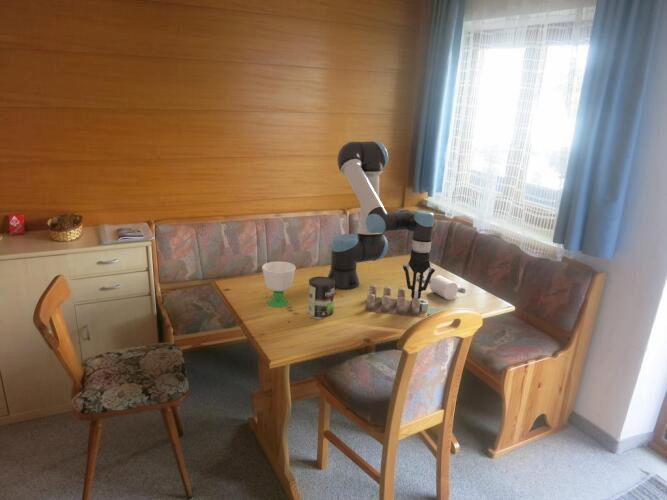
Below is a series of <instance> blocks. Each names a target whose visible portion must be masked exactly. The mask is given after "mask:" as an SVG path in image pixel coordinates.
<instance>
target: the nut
mask: <svg viewBox="0 0 667 500" xmlns="http://www.w3.org/2000/svg"><path fill="white" fill-rule="evenodd" d="M419 300H420V307H419V311H420V313H427V309H428V307H429V301H428V300H426V299H424V298H422V299H421V298H420V299H419Z"/></svg>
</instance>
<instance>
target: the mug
mask: <svg viewBox="0 0 667 500" xmlns="http://www.w3.org/2000/svg"><path fill="white" fill-rule="evenodd" d="M460 287H461V285H460V284H459V283H456V282H454V281H451V280H450V279H448V278H446V277H444V276H442V275H440V274H439V275H435V276H433V277H432V280H431V282H429V289H430V291H431V292H433V293H435V294H436V295H438V296H440V297H441V298H444V300H453V299H454V298H455V297H456V296H457V294H458V292H459V291H458V290H459V289H460Z"/></svg>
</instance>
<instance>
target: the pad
mask: <svg viewBox="0 0 667 500" xmlns="http://www.w3.org/2000/svg"><path fill="white" fill-rule="evenodd" d="M439 311H441V308H440V307H432V306H431V307H430V306H428V309H427V312H426V313H427V317H429V316H428V315H431V314H434V313H436V312H439ZM441 312H442V311H441Z"/></svg>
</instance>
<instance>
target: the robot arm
mask: <svg viewBox="0 0 667 500" xmlns="http://www.w3.org/2000/svg"><path fill="white" fill-rule="evenodd" d="M336 157H337V158H336V159H337V160H336V162H337V167H338V169H339V171H340V173H341V175H342V176H345V177H346V179H347V181H348V182H349V184H350V187H351V188H352V190H353V193H354V194H355V196H356V198H357V200H358V201H359V203H360V229H359V230H358V231H357V235H356V234H354V233H341V234H338V235H336V236H334V238H333V239H332V240H331V241H332V242H331V246H330V247H331V256H330V257H331V258H330V259H331V260H330V270H329V273H327V277H329V278H332V279H334V280H335V291H336V290H341V291H342V290H353V289H356V288H358V287H359V286H360V280H359V275H358V273H357V263H365V262H375V261H377V260H378V261H379V260H382V259H384V257H385V256H386V254H387V253H388V249H389V241H388V240H387V237H386V236H385V235H384V234H383V233H388V232H389V233H391V232H401V231H402V232H403V231H407V232H409V233H412V238H411V250H410V256H409V258H410V259H409V261H408V263H405V264H403V265H402V269H403V271H404V272H405V273H404V274H405V278H406V280H405V281H406V285H407V289H408V290H411V293H410V297H411V299H412V298H414V299H418V298H419V300H421V297H422V291H424V292H425V291H426V290H427V288H428V285H429V284H430V282H429V281H430V278H432V276H433V274H435V271H436V268H435V267H433V266H431V263H430V258H431V250H432V249H431V248H432V237H433V232H434V225H435V223H434V222H435V214H434V213H433V212H432V211H427V210H416V211H415V212H412V211H410V210H408V209H398V210H397V211H395V212H394V211H393V212H387V210H386V209H385V207H384V205H383V203H382V201H381V200H380V175H382V173H383V169H384V168H385V167H387V164H388V162H389V155H388V150H387V148H386V146H385V145H384V144H383V143H382V142H380V141H348V142H347V143H345V144H344V145H342V146H341V148H340V149H339V151H338V154H337V156H336ZM410 269H411V271H412V273H413V274H412V275H413V276H412V283H411V279H410V272H409V270H410ZM427 270H428V273H427V275H426V276H427V278H426V280H425V282H422V280H423V275H424V273H426V271H427ZM418 274H419V275H420V278H419V280H418V288H416V282H417V276H418ZM423 283H424V284H423ZM411 284H412V285H411Z"/></svg>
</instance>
